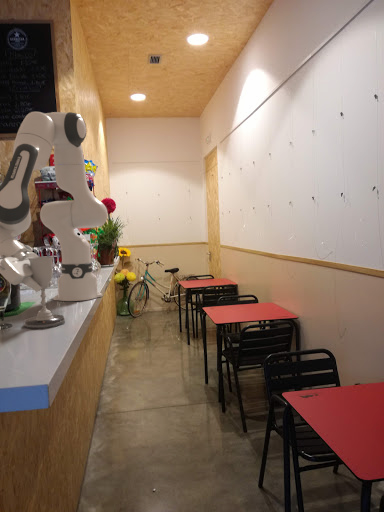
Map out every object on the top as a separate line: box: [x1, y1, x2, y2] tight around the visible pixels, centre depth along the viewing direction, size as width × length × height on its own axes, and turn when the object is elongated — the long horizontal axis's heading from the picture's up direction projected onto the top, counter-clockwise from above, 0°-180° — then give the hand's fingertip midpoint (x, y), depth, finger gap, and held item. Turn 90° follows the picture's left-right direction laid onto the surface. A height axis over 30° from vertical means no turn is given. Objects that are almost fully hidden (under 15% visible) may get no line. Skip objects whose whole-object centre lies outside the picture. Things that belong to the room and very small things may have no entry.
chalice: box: [28, 255, 54, 321], centre depth 111 cm, size 7×7×18 cm
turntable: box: [24, 314, 66, 330], centre depth 111 cm, size 11×11×2 cm
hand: (45, 287), depth 111 cm, fingers open, 6 cm apart
